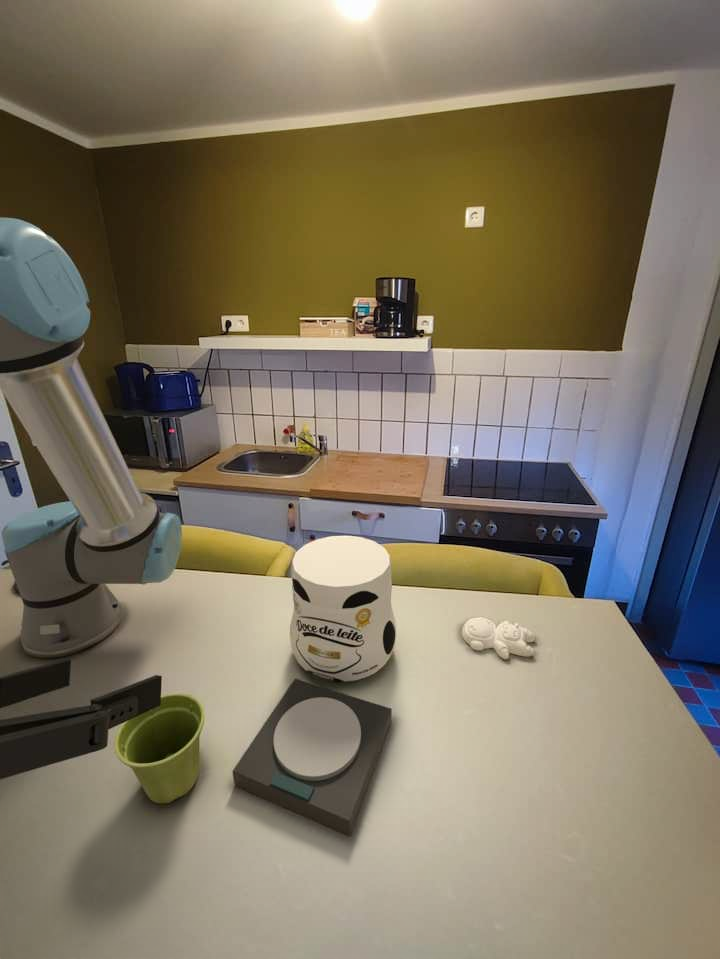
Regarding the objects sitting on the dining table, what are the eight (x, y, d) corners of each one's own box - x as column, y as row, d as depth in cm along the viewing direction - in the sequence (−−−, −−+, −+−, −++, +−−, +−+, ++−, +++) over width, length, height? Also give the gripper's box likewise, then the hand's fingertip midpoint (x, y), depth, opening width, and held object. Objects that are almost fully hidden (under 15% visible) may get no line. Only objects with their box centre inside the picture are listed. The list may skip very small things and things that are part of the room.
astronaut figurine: (530, 669, 68) (533, 653, 67) (456, 644, 73) (457, 630, 72) (537, 635, 75) (539, 621, 74) (469, 615, 81) (470, 601, 79)
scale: (234, 785, 51) (231, 766, 50) (296, 690, 64) (294, 673, 63) (350, 836, 46) (349, 816, 45) (391, 722, 59) (392, 704, 58)
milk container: (302, 707, 62) (295, 602, 55) (284, 629, 77) (276, 541, 71) (412, 677, 67) (417, 578, 60) (374, 610, 82) (375, 526, 76)
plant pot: (185, 829, 47) (173, 773, 44) (111, 811, 49) (94, 756, 46) (227, 750, 55) (219, 699, 52) (162, 737, 57) (151, 687, 54)
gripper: (-308, 815, 29) (33, 700, 49) (-147, 961, 19) (202, 742, 39) (-290, 700, 30) (38, 631, 49) (-128, 782, 20) (204, 656, 39)
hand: (110, 680), depth 44 cm, fingers open, 13 cm apart
